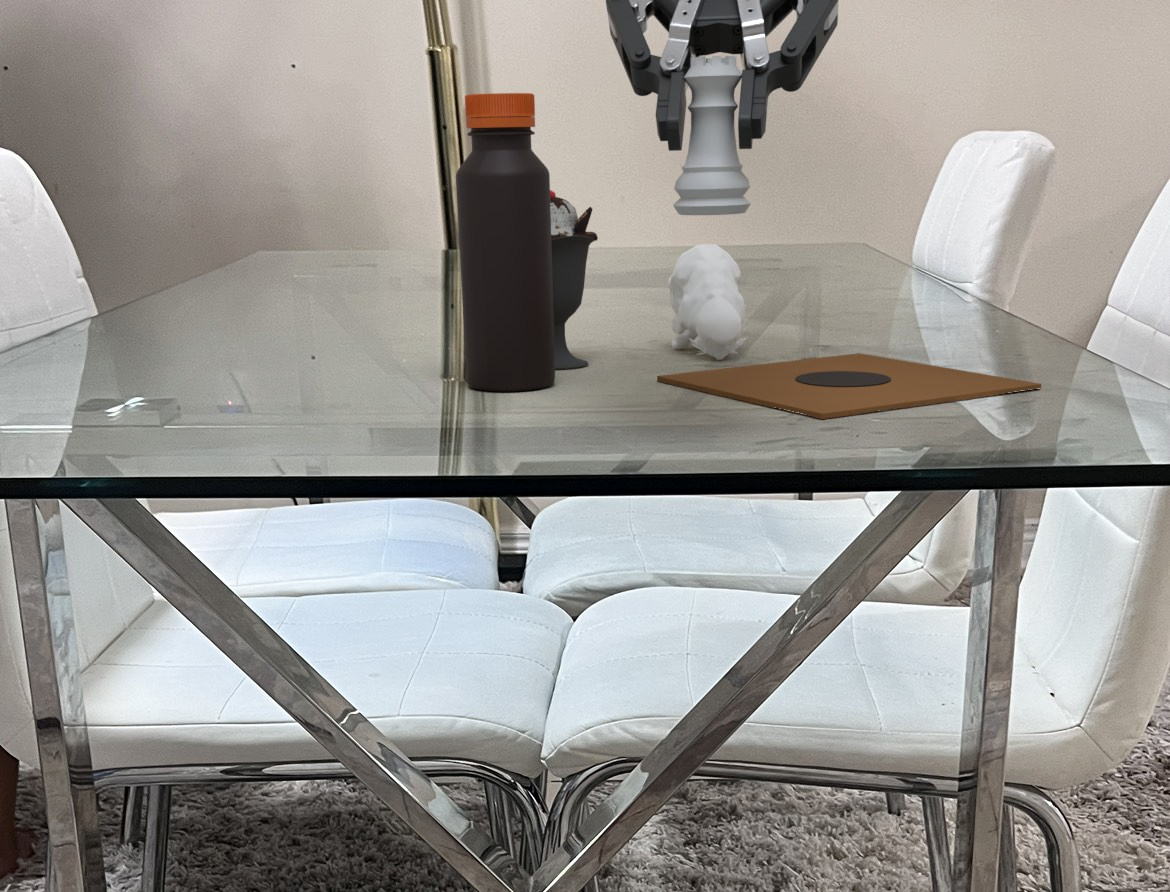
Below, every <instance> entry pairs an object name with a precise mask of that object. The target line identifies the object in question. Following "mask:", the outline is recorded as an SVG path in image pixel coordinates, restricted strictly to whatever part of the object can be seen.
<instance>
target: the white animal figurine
mask: <svg viewBox="0 0 1170 892" xmlns="http://www.w3.org/2000/svg"><path fill="white" fill-rule="evenodd" d="M741 279H742V272H741V269H740V267H739V264H738V263H737V262H736V261H735V260H734V259H733V257H732V256H731V255H730V254H729V252H727V250H725V249H724V248H722V247H721V246H720V245H718V244H715V243H713V244H709V243H702V244H696V245H694V246H693V247H691V248H690V249H688V250H686V251H685V252H682V254H681V255H679V257H678V258H677V261H676V263H675V267H674V269H673V271H672V274H671V275H670V276H669V277H668V282H667V287H668V289H669V300H670V305H671V308H672V310H673V312H674V313H675V315H674V316H672V318H671V330H672V331H673V332H674V333H675V335H674V337H673V338H672V341H671V347H672V348H673V349H674V350H683V349H685V348H688V347H689V346H690V345H691V346H693V347H694V348H696V349H698V350H700V351H697V352H698V353H696V354H695V356H698V355H699V356H701V355H709V356H711V357H712V358H715V359H716V360H717V361H723V359H724V358H725V357H727V356H728V355H729V354H735V355H737V354H739V352H738V351H739V350H738V348H739V347H740V346H742V345H743V344H744V343H745V341H746V340H747V338H748V336H746V337H742V338H741V339H740V337H741V335H742V328H743V325H744V322H745V318H746V317H745V315H746V305H745V300H744V297H743V295H742V294H741V293H740V291H739V286H740V285H741ZM697 337H698V338H699V340H697Z"/></svg>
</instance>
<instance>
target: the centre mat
mask: <svg viewBox="0 0 1170 892" xmlns="http://www.w3.org/2000/svg"><path fill="white" fill-rule="evenodd" d="M656 382H659V383H664V384H669V385H672V386H676V387H681V388H684V389H689V390H693V391H697V392H703V393H707V394H711V395H715V396H720V397H725V398H728V399H733V400H737V401H741V402H745V403H750V404H754V405H758V406H762V405H764V406H763V407H767V406H769V407H768V408H771V407H776V408H781V409H786V410H790V411H794V412H799V413H803V414H806V415H809V416H808V417H810V416H812V417H811V418H814V417H815V419H819V420H826V419H834V418H835V419H836V418H841V417H842V418H843V417H849V416H856V415H863V414H862V413H865V414H869V413H868V412H872V413H874V412H873V411H878V410H886V411H888V410H887V409H894V410H898V409H897V408H901V409H908V408H914V407H916V408H917V407H923V406H930V405H938V404H943V403H953V402H957V401H966V400H973V399H981V398H987V397H986V396H989V397H994V396H993V395H996V396H1000V395H999V394H1003V395H1006V394H1005V393H1008V392H1014V391H1020V390H1028V389H1029V390H1030V389H1037V388H1041V389H1042V383H1038V382H1034V381H1033V382H1032V381H1027V380H1020V379H1016V378H1009V377H1004V376H998V375H997V376H996V375H991V374H985V373H979V372H973V371H969V370H962V369H956V368H950V367H943V366H938V365H931V364H925V363H921V362H914V361H908V360H902V359H895V358H891V357H884V356H878V355H871V354H867V353H861V352H859V353H849V354H848V353H847V354H840V355H831V356H822V357H814V358H803V359H796V360H795V359H794V360H787V361H779V362H778V361H777V362H768V363H760V364H759V363H758V364H752V365H751V364H750V365H742V366H733V367H724V368H714V369H706V370H697V371H689V372H688V371H687V372H681V373H670V374H662V375H661V374H660V375H657V376H656ZM980 397H981V398H980ZM937 403H938V404H937ZM806 415H805V416H806Z"/></svg>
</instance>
